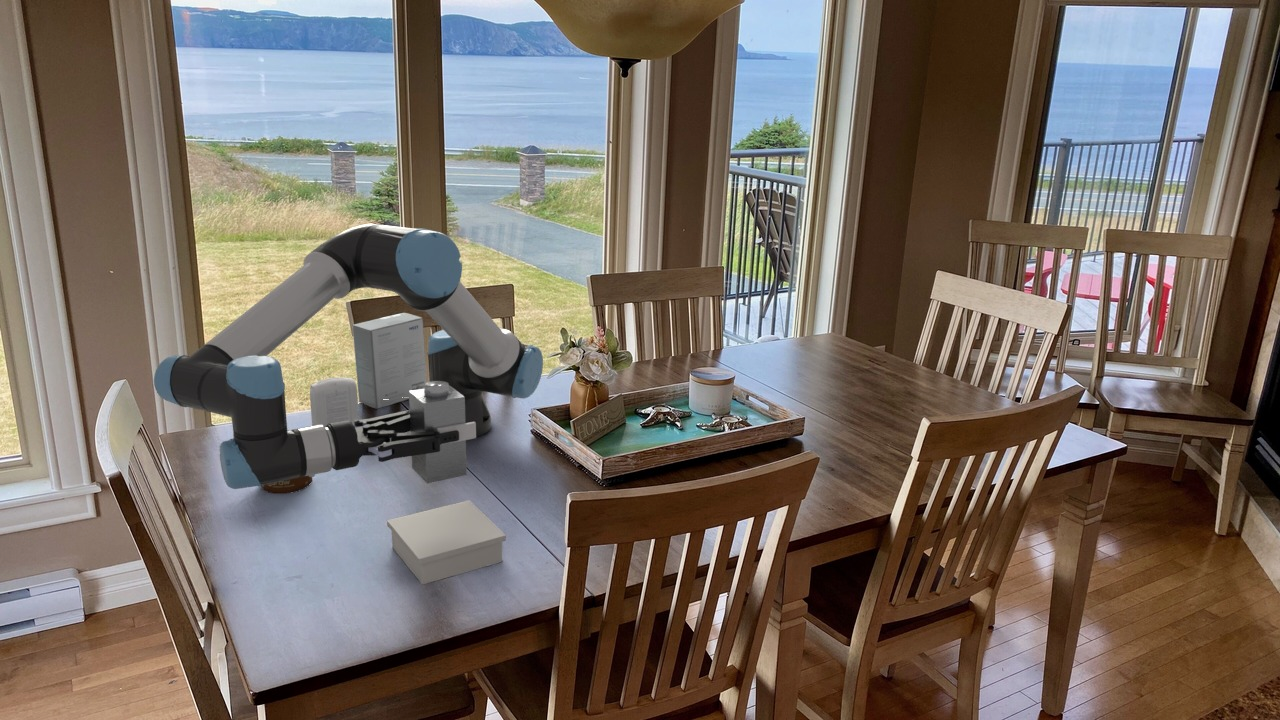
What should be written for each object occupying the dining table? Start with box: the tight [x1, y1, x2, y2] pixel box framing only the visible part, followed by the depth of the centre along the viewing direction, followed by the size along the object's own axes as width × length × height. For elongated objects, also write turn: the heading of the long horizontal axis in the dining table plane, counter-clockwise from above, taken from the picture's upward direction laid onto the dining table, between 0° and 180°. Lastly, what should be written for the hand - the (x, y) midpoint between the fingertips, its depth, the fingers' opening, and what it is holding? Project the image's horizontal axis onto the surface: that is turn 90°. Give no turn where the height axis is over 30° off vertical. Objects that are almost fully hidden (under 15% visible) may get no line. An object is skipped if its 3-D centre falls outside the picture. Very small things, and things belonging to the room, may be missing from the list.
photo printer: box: [309, 376, 360, 427], centre depth 204 cm, size 10×4×12 cm, turn 123°
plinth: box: [386, 499, 507, 585], centre depth 154 cm, size 15×15×5 cm
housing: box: [408, 381, 468, 484], centre depth 153 cm, size 7×7×16 cm
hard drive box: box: [351, 312, 428, 410], centre depth 223 cm, size 16×8×20 cm, turn 141°
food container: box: [260, 476, 313, 495], centre depth 175 cm, size 12×6×10 cm, turn 105°
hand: (465, 422), depth 156 cm, fingers closed on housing, 7 cm apart
